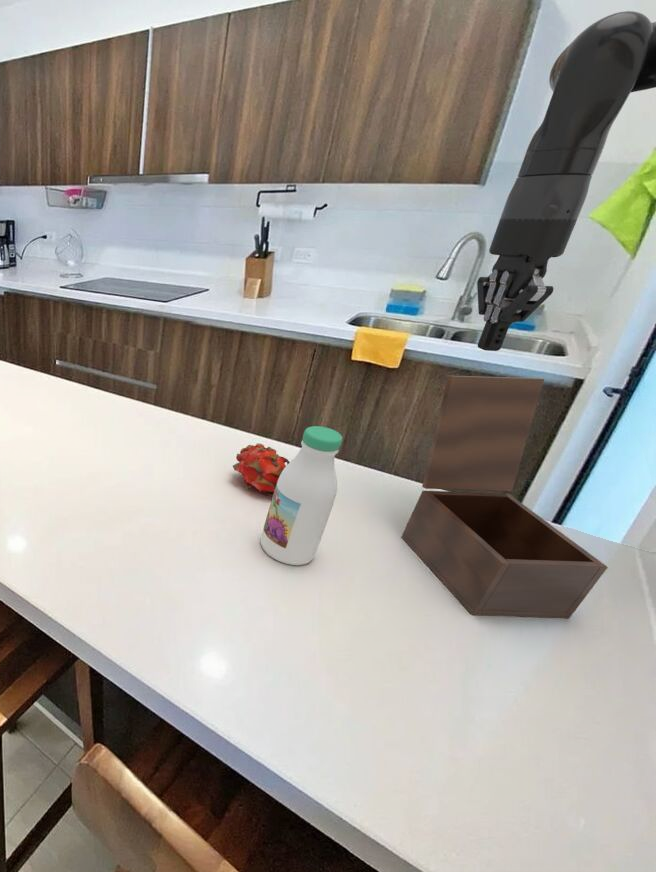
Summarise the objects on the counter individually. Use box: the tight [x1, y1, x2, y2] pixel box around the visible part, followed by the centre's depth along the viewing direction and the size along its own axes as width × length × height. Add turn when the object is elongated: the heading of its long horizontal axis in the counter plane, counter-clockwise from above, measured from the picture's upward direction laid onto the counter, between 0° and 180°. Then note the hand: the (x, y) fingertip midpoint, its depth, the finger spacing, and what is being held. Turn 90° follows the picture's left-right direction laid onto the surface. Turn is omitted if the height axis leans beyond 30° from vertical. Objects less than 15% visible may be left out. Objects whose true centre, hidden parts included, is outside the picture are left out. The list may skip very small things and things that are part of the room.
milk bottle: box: [260, 425, 343, 566], centre depth 71 cm, size 8×8×20 cm
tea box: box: [400, 490, 609, 619], centre depth 70 cm, size 16×13×9 cm
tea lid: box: [421, 375, 545, 492], centre depth 72 cm, size 17×13×1 cm
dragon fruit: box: [232, 443, 291, 497], centre depth 89 cm, size 8×8×12 cm
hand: (487, 349), depth 71 cm, fingers closed
